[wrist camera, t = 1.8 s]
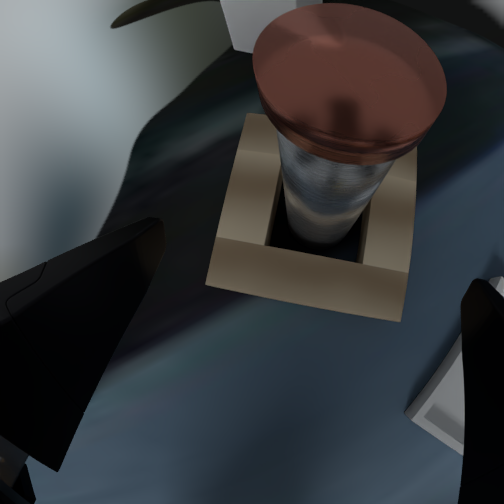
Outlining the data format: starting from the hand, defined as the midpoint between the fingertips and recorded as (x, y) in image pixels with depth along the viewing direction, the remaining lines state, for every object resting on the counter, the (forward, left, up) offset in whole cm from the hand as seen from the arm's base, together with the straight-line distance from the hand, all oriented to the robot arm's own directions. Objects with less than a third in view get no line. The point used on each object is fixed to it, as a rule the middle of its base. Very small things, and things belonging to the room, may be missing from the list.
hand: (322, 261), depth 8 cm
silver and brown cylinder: (+4, +2, -11) cm, 12 cm away
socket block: (+4, +2, -11) cm, 12 cm away
